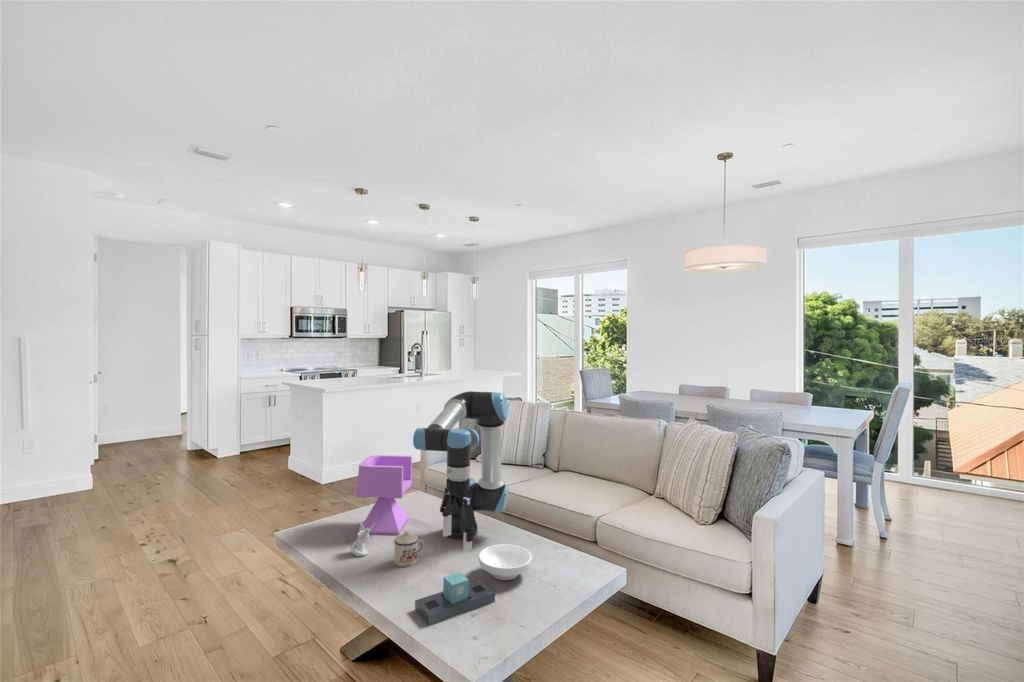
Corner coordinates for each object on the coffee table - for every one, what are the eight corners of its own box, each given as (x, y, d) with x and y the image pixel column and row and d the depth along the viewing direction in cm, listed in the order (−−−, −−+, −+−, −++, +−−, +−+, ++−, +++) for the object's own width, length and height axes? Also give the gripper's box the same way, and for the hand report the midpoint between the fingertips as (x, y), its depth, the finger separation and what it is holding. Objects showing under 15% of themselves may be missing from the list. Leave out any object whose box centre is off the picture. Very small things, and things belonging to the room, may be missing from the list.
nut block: (459, 598, 162) (459, 572, 162) (468, 607, 158) (468, 579, 157) (442, 604, 159) (443, 577, 159) (451, 613, 154) (452, 585, 154)
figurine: (357, 560, 189) (357, 529, 189) (346, 553, 194) (347, 523, 194) (381, 550, 197) (381, 521, 197) (370, 545, 202) (370, 516, 202)
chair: (400, 536, 211) (402, 467, 210) (355, 535, 211) (356, 466, 211) (411, 518, 231) (412, 455, 230) (369, 517, 231) (370, 454, 231)
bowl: (537, 567, 185) (538, 549, 185) (521, 593, 167) (522, 572, 167) (490, 558, 192) (490, 540, 192) (469, 582, 173) (470, 562, 173)
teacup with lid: (399, 569, 181) (400, 538, 181) (390, 560, 189) (390, 530, 188) (428, 561, 188) (429, 531, 188) (418, 552, 196) (419, 523, 196)
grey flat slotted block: (479, 588, 169) (479, 579, 169) (494, 601, 161) (495, 592, 161) (414, 609, 155) (415, 600, 155) (428, 625, 147) (428, 615, 147)
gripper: (430, 470, 166) (429, 532, 166) (467, 490, 145) (466, 561, 146) (450, 467, 170) (449, 527, 170) (488, 486, 150) (487, 554, 150)
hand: (456, 543), depth 158 cm, fingers open, 13 cm apart
